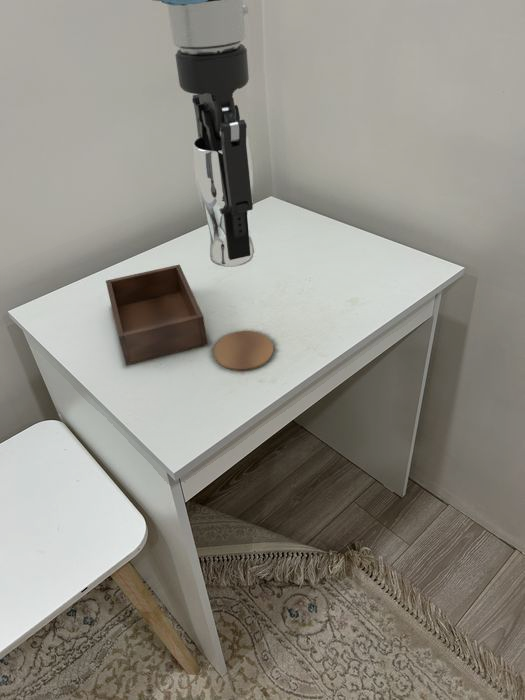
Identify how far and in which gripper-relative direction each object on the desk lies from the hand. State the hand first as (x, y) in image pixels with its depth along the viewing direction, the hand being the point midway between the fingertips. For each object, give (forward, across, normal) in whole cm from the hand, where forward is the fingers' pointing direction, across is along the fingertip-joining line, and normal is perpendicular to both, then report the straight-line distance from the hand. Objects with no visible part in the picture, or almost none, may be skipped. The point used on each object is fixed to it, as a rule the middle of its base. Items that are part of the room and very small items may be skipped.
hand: (231, 243), depth 71 cm
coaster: (+18, 0, 0) cm, 18 cm away
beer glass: (+2, 0, 0) cm, 2 cm away
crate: (+18, +12, +11) cm, 24 cm away
